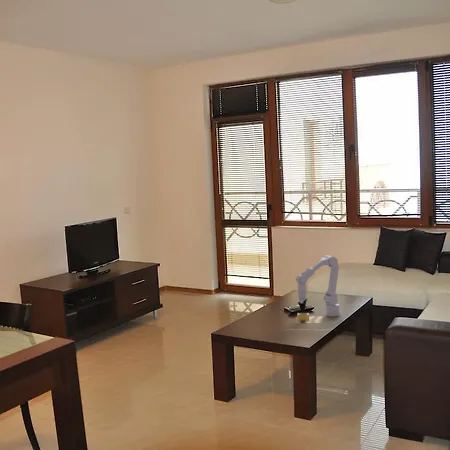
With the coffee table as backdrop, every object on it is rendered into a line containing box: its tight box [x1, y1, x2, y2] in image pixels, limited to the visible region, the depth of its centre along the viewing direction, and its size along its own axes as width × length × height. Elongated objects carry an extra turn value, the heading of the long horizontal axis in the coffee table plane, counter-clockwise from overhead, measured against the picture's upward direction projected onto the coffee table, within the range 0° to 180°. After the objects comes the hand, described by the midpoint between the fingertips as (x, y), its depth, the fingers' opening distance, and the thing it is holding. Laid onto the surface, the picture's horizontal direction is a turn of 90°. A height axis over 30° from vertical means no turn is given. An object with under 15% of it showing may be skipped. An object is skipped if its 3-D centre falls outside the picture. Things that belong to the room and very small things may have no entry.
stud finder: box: [296, 312, 310, 321], centre depth 388 cm, size 8×5×4 cm, turn 77°
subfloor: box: [294, 315, 323, 325], centre depth 387 cm, size 18×19×1 cm
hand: (303, 310), depth 387 cm, fingers open, 7 cm apart
